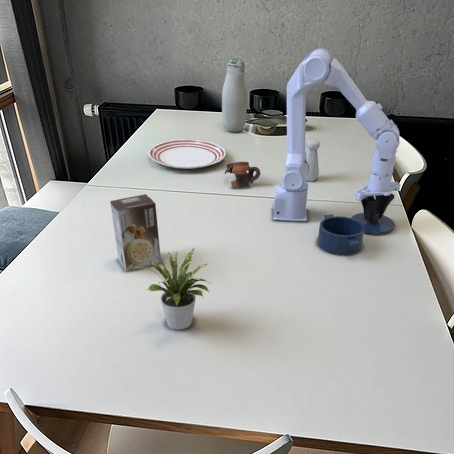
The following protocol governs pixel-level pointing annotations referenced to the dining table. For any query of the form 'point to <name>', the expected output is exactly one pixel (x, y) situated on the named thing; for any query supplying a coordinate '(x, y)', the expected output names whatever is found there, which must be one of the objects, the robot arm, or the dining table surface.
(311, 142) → the salt shaker
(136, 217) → the cracker box
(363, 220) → the lid
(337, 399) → the dining table surface
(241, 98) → the glass bottle
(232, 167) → the pottery mug
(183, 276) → the house plant
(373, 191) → the robot arm
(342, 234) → the pot
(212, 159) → the dinner plate
